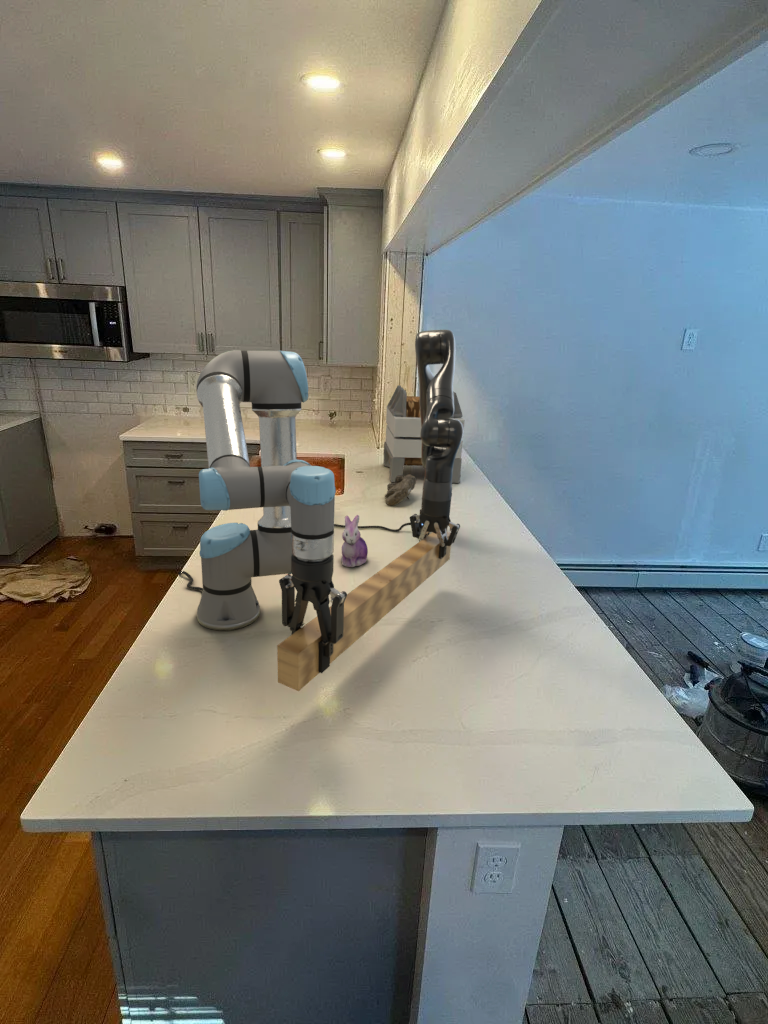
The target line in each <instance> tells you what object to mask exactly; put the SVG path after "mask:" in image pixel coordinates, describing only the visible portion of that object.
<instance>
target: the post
mask: <svg viewBox="0 0 768 1024" xmlns="http://www.w3.org/2000/svg"><path fill="white" fill-rule="evenodd" d="M450 533H451V531H447V539H448V538H449V536H450ZM439 546H440V542H439V539H438V537H437V534H435V533H433V532H432V533H431V534H429V535H428V536H427V537H425V538H424V539H423V540H421V541H420V542H419V541H418V542H417V543H415V544H413V546H411V547H410V548H409V549H407V550H406V551H405V552H403V553H402V554H400V555H399V556H398V557H396V558H395V559H394V560H392V561H391V562H389V563H388V564H387V565H386V566H384V567H383V568H381V569H380V570H379V571H377V572H376V573H374V574H373V575H372V576H370V577H369V578H368V579H365V581H363V582H362V583H360V584H359V585H358V586H357V587H355V588H354V589H352V590H351V591H350V592H348V593H347V597H346V599H345V602H344V630H343V637H342V638H341V639H340V640H339V641H338V642H337V643H336V644H334V647H333V654H332V655H331V656H330V664H332V663H333V662H334V661H335V660H337V658H338V657H340V656H342V654H343V653H344V652H346V651H347V649H349V648H350V647H352V645H353V644H355V643H356V642H357V641H358V640H359V639H361V637H362V636H364V635H365V634H366V633H367V632H368V631H369V630H371V629H372V628H373V627H374V626H375V625H376V624H378V623H379V622H380V621H381V620H383V618H385V616H387V615H388V614H390V612H391V611H392V610H394V609H395V608H396V607H397V606H398V605H399V604H400V603H401V602H403V601H404V600H405V599H407V597H409V595H410V594H412V593H413V592H414V591H415V590H417V588H418V587H420V586H421V585H422V584H423V583H425V582H426V581H427V580H428V579H429V578H430V577H431V576H433V574H435V573H436V572H437V571H438V570H439V569H440V568H441V567H443V566H444V565H445V564H446V563H447V562H449V560H450V559H451V552H452V551H451V549H452V545H451V546H447V550H446V555H445V556H444V557H443V558H442V559H439V558H438V557H439ZM329 609H330V614H331V606H329ZM321 640H322V636H321V631H320V627H319V622H318V617H317V616H315V617H314V618H312V619H311V620H309V621H308V622H307V623H305V624H304V625H303V626H301V628H300V629H299V630H298V631H296V632H295V633H293V634H292V635H289V636H288V637H286V638H285V639H284V640H283V641H281V642H280V643H278V644H277V645H276V655H277V683H279V684H281V685H282V686H285V687H287V688H290V689H293V690H294V691H297V692H300V691H301V690H302V689H303V688H304V687H305V686H306V685H308V684H309V683H310V682H311V681H312V680H313V679H314V678H316V677H317V676H318V675H319V674H321V673H320V672H319V642H320V641H321Z"/></svg>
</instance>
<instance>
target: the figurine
mask: <svg viewBox="0 0 768 1024" xmlns="http://www.w3.org/2000/svg"><path fill="white" fill-rule="evenodd" d="M359 523H360V515H359V514H356V515H355V516H354V517H353V519H352V521H351V519H350V517H349V515H346V516H344V525H345V528H344V529H343V531H342V534H341V538H342V539H343V543H342V545H341V559H340V561H341V565H342V566H344V567H348V568H354V567H357V566H358V567H359V566H362V565H363V564H365V563H366V562H367V559H368V553H369V549H368V545H367V542H366V541H365V540H364V538H363V537H361V532H360V530H359V528H358V527H357V526H359Z"/></svg>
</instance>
